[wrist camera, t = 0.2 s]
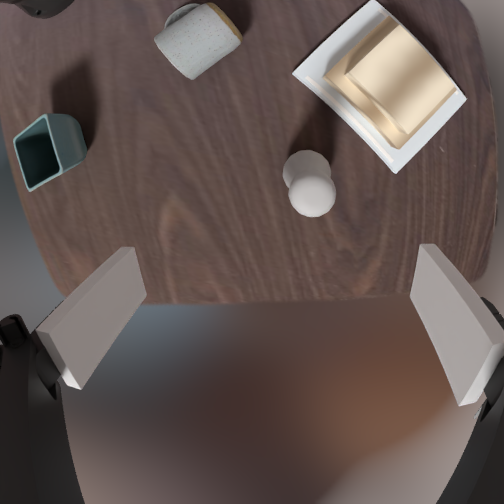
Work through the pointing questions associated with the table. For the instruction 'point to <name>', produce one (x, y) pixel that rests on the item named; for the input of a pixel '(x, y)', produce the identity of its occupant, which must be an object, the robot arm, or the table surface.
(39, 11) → the robot arm
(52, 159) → the flower pot
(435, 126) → the board
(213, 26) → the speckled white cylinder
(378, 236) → the table surface
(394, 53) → the birch plinth
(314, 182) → the salt shaker
